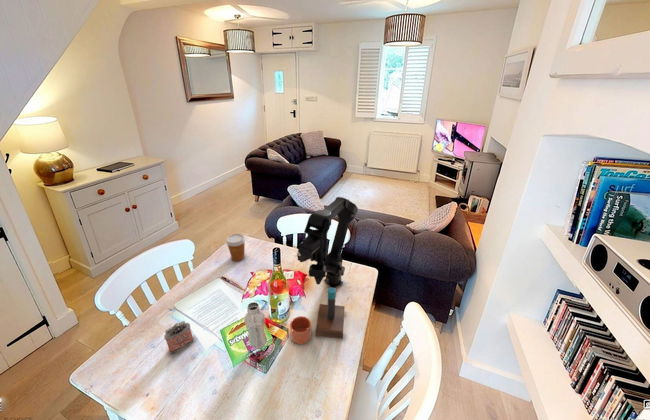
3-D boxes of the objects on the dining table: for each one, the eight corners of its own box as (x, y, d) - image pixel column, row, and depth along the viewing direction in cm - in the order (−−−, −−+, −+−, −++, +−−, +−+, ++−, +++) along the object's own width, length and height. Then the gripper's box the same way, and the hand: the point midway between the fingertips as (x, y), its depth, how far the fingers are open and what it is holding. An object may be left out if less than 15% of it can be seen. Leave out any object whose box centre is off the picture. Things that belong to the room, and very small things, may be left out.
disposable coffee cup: (225, 261, 138) (221, 242, 133) (234, 251, 147) (231, 232, 141) (242, 264, 137) (239, 244, 132) (250, 253, 145) (248, 234, 140)
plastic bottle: (264, 359, 90) (259, 315, 82) (245, 355, 91) (238, 312, 83) (271, 342, 96) (267, 300, 87) (253, 339, 97) (247, 297, 88)
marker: (329, 312, 104) (330, 286, 98) (336, 316, 102) (337, 289, 97) (325, 317, 102) (326, 290, 96) (331, 321, 100) (332, 294, 95)
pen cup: (304, 323, 104) (304, 313, 101) (314, 337, 98) (314, 326, 96) (287, 332, 100) (286, 322, 98) (296, 347, 94) (296, 336, 92)
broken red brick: (192, 335, 98) (186, 315, 94) (195, 341, 96) (190, 321, 92) (168, 349, 93) (160, 329, 89) (171, 356, 91) (164, 335, 86)
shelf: (319, 311, 110) (319, 303, 108) (344, 313, 109) (344, 306, 107) (315, 336, 99) (315, 328, 97) (342, 339, 98) (343, 331, 96)
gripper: (301, 230, 111) (302, 261, 118) (294, 257, 95) (295, 291, 101) (328, 231, 111) (328, 262, 118) (325, 258, 94) (325, 293, 101)
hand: (319, 276), depth 109 cm, fingers open, 9 cm apart
